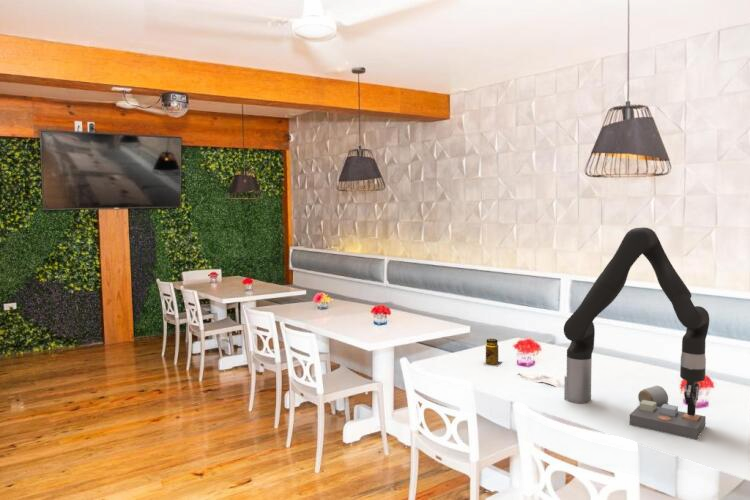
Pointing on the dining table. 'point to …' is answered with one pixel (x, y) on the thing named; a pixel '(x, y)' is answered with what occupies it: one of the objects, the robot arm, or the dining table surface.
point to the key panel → (667, 423)
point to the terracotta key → (691, 417)
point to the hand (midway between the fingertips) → (691, 414)
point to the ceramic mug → (654, 395)
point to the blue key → (669, 410)
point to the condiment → (492, 353)
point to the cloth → (542, 379)
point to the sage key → (647, 406)
